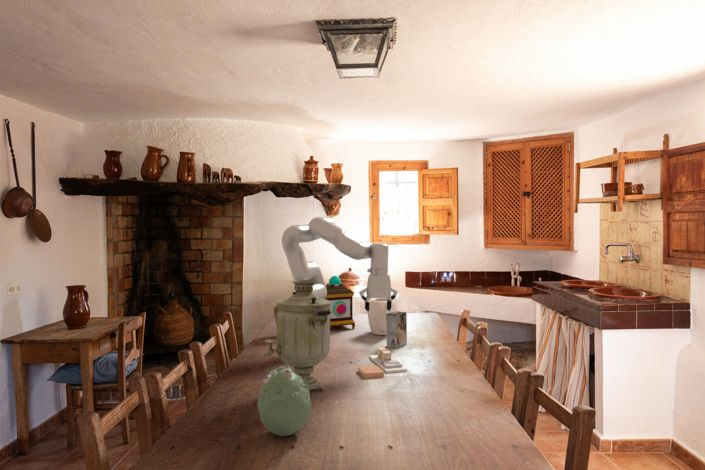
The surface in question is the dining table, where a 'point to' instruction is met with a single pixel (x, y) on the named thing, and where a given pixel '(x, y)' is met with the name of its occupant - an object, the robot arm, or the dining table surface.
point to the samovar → (302, 331)
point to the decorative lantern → (339, 303)
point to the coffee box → (396, 329)
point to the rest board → (387, 370)
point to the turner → (387, 359)
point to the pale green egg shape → (284, 401)
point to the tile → (370, 371)
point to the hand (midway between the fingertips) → (378, 310)
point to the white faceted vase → (379, 315)
